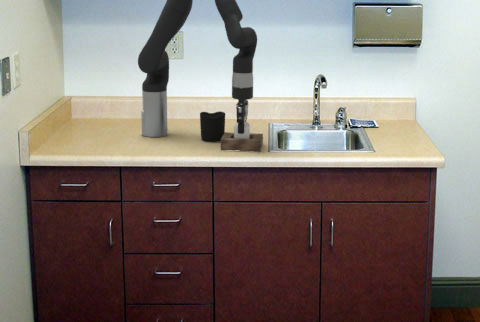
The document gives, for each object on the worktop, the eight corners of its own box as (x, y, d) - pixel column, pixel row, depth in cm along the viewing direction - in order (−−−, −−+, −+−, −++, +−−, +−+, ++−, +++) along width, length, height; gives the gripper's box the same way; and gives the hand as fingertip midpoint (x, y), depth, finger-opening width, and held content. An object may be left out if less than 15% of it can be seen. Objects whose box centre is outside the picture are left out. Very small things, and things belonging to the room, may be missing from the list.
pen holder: (210, 135, 297) (210, 109, 294) (230, 139, 292) (230, 112, 289) (195, 140, 289) (194, 113, 286) (215, 143, 284) (215, 117, 281)
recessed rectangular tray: (220, 150, 275) (220, 139, 274) (224, 142, 285) (224, 132, 284) (259, 152, 273) (260, 141, 272) (262, 144, 284) (262, 133, 283)
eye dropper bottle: (250, 146, 277) (250, 113, 274) (234, 146, 277) (234, 113, 273) (249, 143, 281) (249, 110, 278) (233, 143, 281) (233, 110, 278)
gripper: (234, 81, 281) (234, 126, 285) (229, 88, 267) (228, 136, 271) (255, 81, 280) (254, 127, 284) (251, 88, 266) (250, 136, 270)
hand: (242, 131), depth 278 cm, fingers open, 5 cm apart
